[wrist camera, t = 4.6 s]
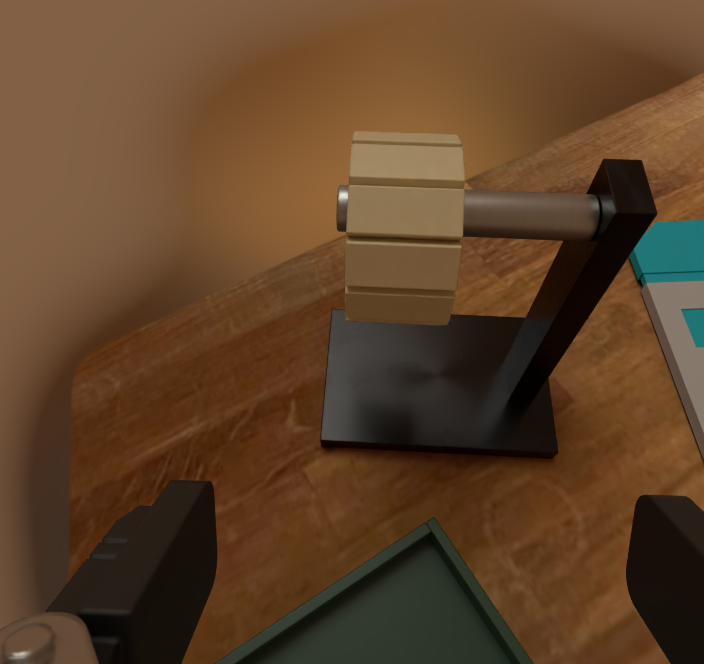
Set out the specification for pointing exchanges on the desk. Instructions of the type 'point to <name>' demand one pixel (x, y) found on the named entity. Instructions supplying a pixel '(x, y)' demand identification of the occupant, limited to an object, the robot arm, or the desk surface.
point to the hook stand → (486, 332)
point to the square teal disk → (677, 306)
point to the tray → (393, 614)
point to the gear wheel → (403, 227)
